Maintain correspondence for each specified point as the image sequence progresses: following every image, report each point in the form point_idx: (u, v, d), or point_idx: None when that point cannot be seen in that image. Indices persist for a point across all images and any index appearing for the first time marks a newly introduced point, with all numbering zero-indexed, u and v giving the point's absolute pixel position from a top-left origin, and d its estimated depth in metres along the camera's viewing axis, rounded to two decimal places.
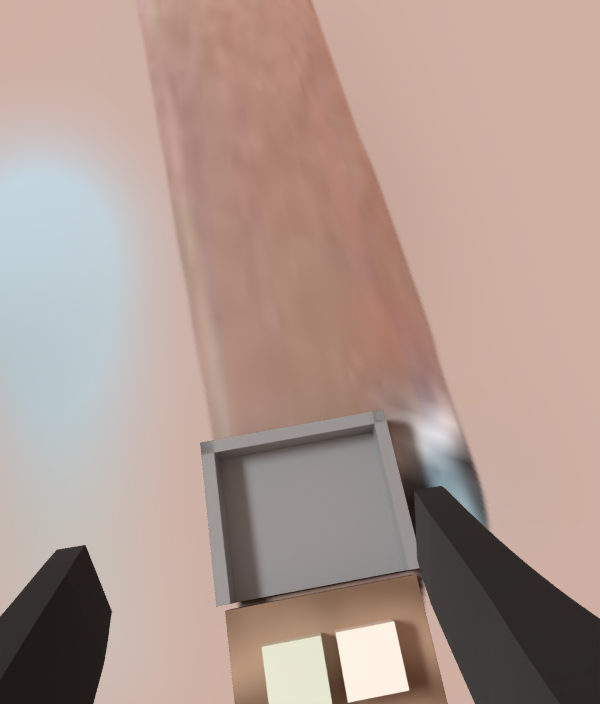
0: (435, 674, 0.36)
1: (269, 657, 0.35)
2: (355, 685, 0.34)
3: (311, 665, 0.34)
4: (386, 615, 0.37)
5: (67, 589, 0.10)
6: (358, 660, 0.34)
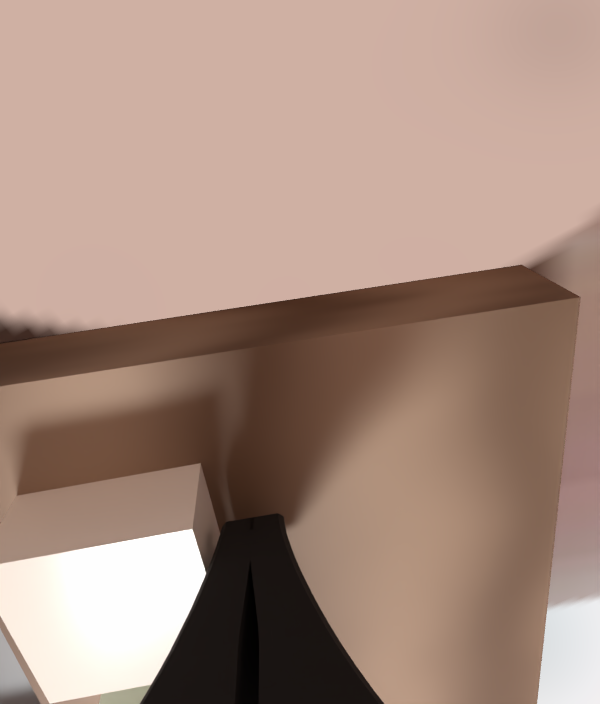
0: (204, 370, 0.11)
1: None
2: None
3: None
4: None
5: None
6: (119, 652, 0.11)
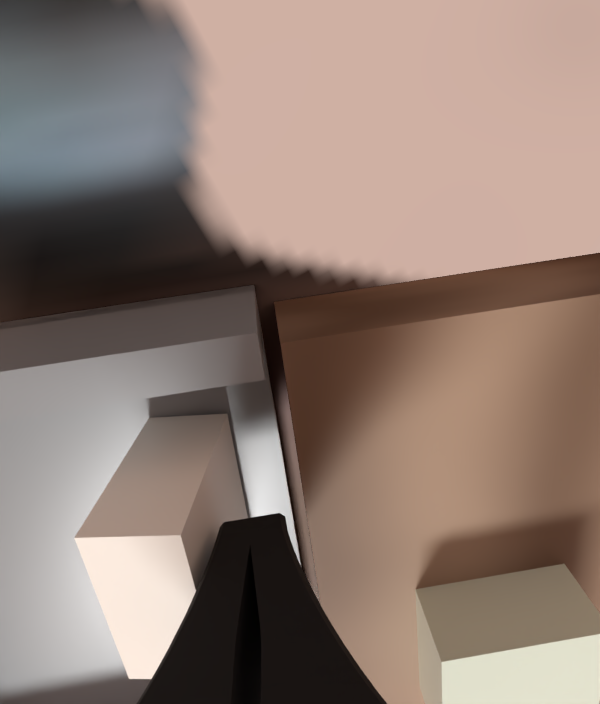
0: (583, 311, 0.11)
1: None
2: None
3: (508, 675, 0.12)
4: (396, 438, 0.12)
5: (251, 559, 0.10)
6: None
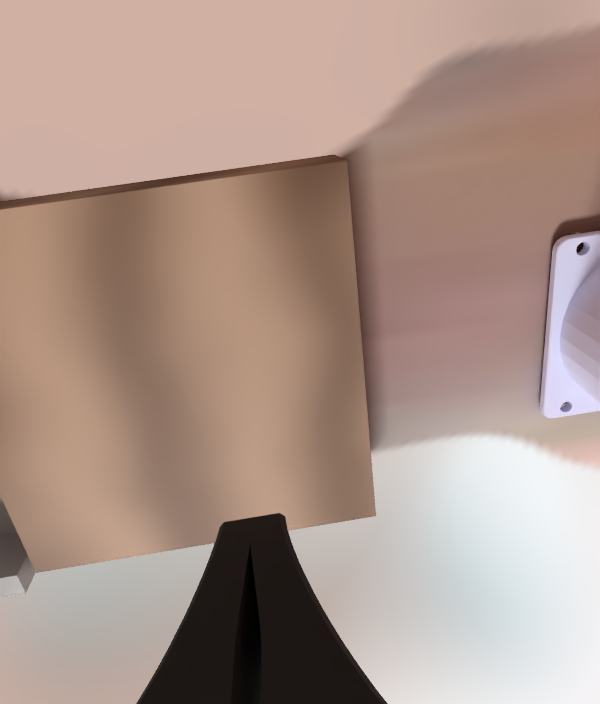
0: (93, 208, 0.16)
1: None
2: None
3: None
4: None
5: (251, 558, 0.10)
6: None
